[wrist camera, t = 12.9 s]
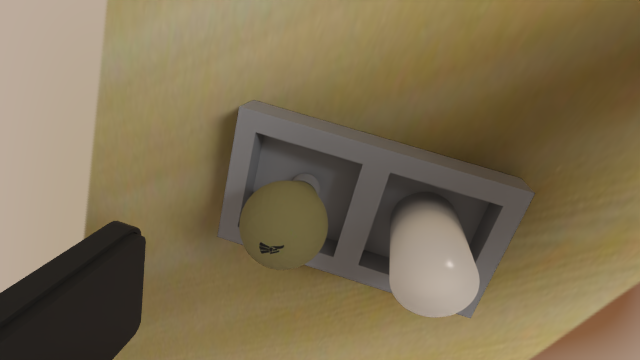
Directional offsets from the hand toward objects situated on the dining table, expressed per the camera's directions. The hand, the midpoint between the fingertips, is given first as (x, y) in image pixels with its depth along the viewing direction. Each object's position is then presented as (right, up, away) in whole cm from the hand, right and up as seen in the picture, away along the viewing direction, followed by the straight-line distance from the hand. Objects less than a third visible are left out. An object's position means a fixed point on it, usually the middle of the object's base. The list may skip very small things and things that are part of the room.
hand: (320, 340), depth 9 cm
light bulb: (-1, +3, +22) cm, 23 cm away
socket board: (+3, +2, +22) cm, 23 cm away
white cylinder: (+8, 0, +21) cm, 23 cm away
